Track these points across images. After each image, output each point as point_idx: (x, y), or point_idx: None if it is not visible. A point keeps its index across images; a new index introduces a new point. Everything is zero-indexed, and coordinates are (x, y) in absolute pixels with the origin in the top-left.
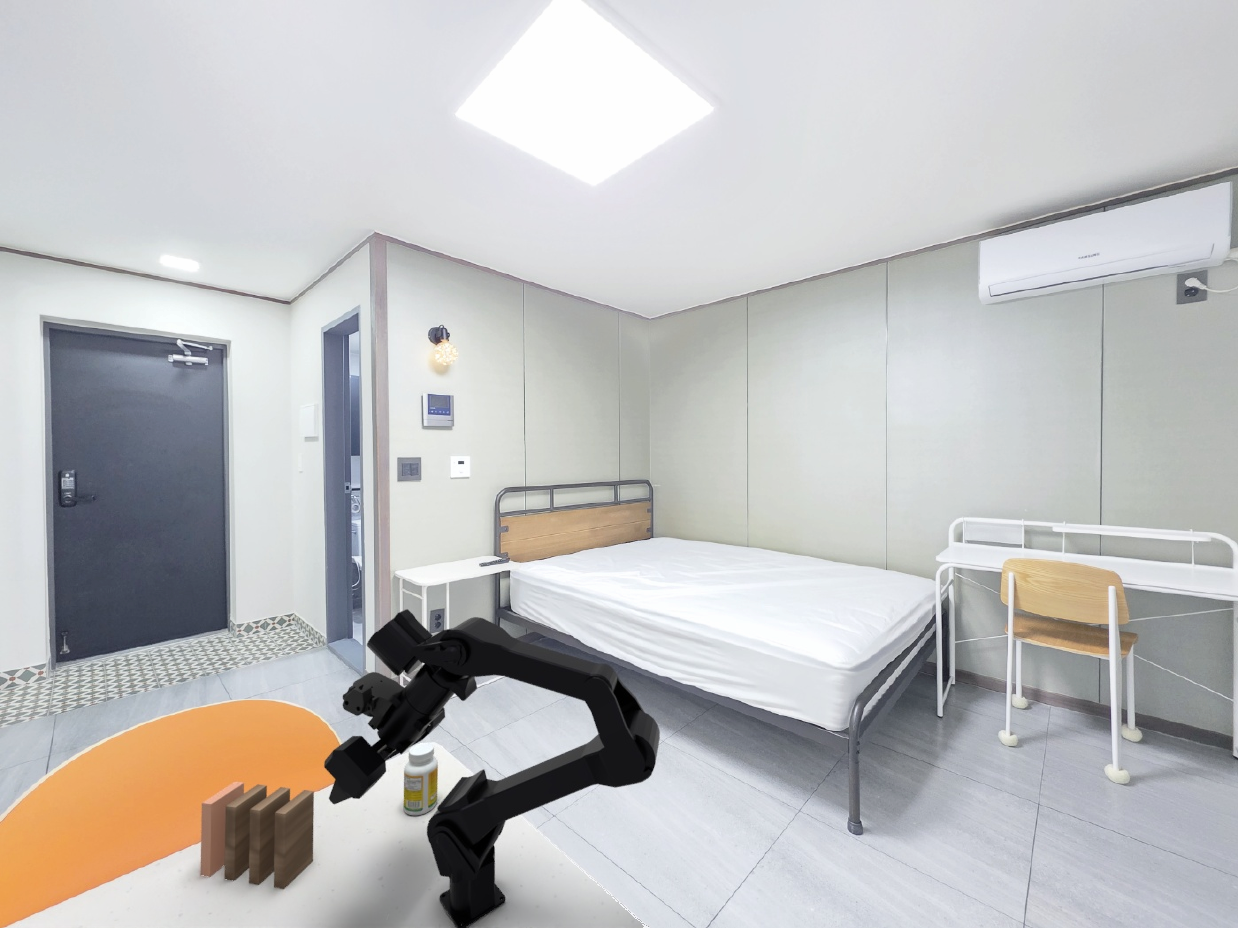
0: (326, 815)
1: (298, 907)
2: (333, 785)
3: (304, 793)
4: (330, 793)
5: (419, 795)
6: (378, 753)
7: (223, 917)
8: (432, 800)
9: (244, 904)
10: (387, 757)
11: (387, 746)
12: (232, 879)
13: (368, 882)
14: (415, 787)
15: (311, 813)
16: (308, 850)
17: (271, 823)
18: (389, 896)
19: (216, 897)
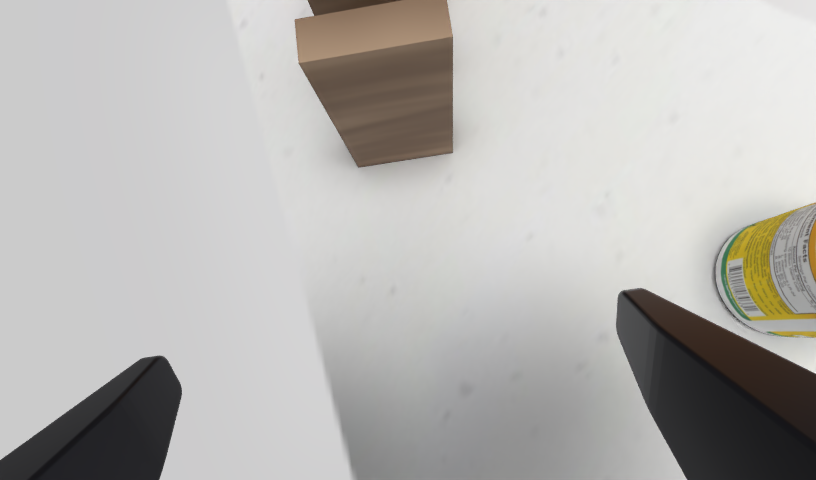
0: (603, 31)
1: (325, 253)
2: (2, 461)
3: (427, 15)
4: (95, 392)
5: (774, 308)
6: (641, 314)
7: (260, 114)
8: (797, 336)
9: (298, 123)
10: (650, 403)
11: (702, 409)
12: None
13: (442, 365)
14: (787, 292)
15: (441, 86)
16: (434, 139)
17: (359, 7)
18: (422, 465)
19: (296, 45)
